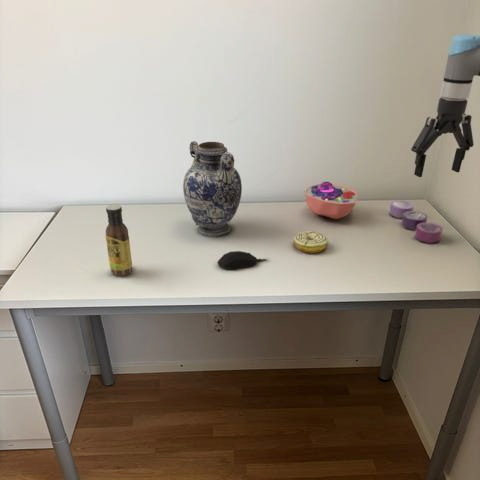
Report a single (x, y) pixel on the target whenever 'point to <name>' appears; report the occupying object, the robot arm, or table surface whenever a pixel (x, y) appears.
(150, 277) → the table surface
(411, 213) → the dish middle
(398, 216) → the dish
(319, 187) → the cell model
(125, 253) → the sauce bottle
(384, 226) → the table surface
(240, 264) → the gaming mouse
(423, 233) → the dish
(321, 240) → the decorated donut
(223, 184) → the decorative vase
